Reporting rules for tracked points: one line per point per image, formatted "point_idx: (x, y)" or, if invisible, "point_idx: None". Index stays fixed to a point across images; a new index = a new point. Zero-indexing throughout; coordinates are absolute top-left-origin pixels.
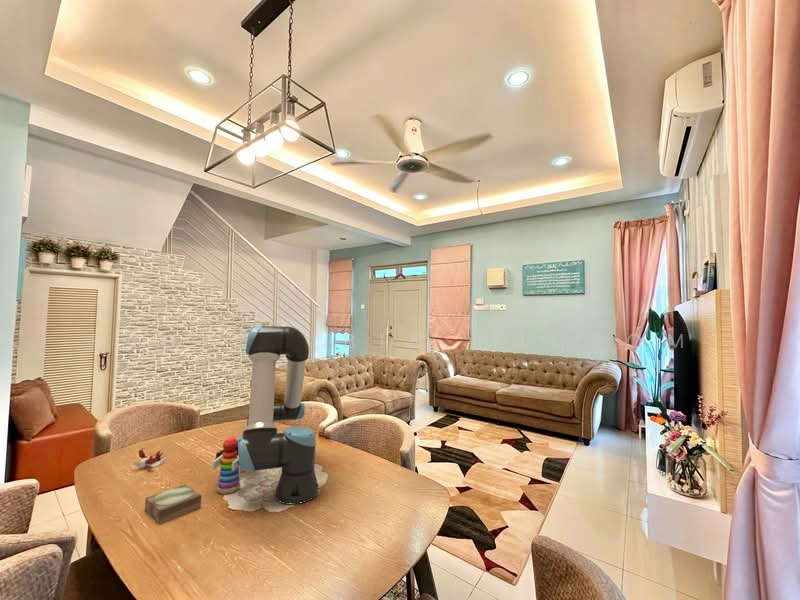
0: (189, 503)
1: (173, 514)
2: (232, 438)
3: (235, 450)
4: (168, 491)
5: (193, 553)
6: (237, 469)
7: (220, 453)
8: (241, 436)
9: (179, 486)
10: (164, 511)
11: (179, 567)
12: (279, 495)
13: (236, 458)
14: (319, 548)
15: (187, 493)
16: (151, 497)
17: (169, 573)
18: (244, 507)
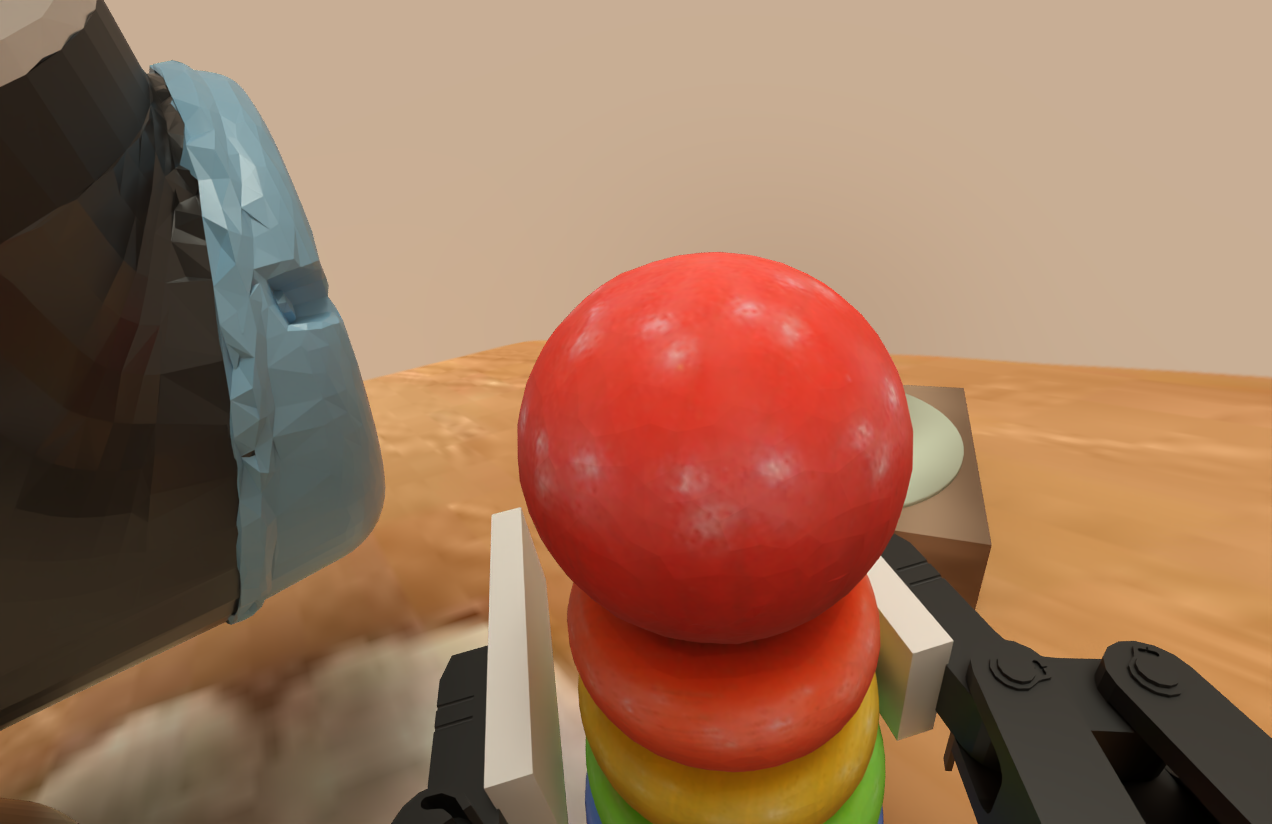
0: None
1: None
2: (619, 280)
3: (619, 621)
4: (935, 442)
5: (486, 410)
6: (587, 796)
7: (1160, 742)
8: (165, 65)
9: (984, 509)
10: None
11: (491, 382)
12: (61, 815)
13: (580, 685)
14: None
15: None
16: (941, 398)
17: (503, 370)
18: (405, 665)
